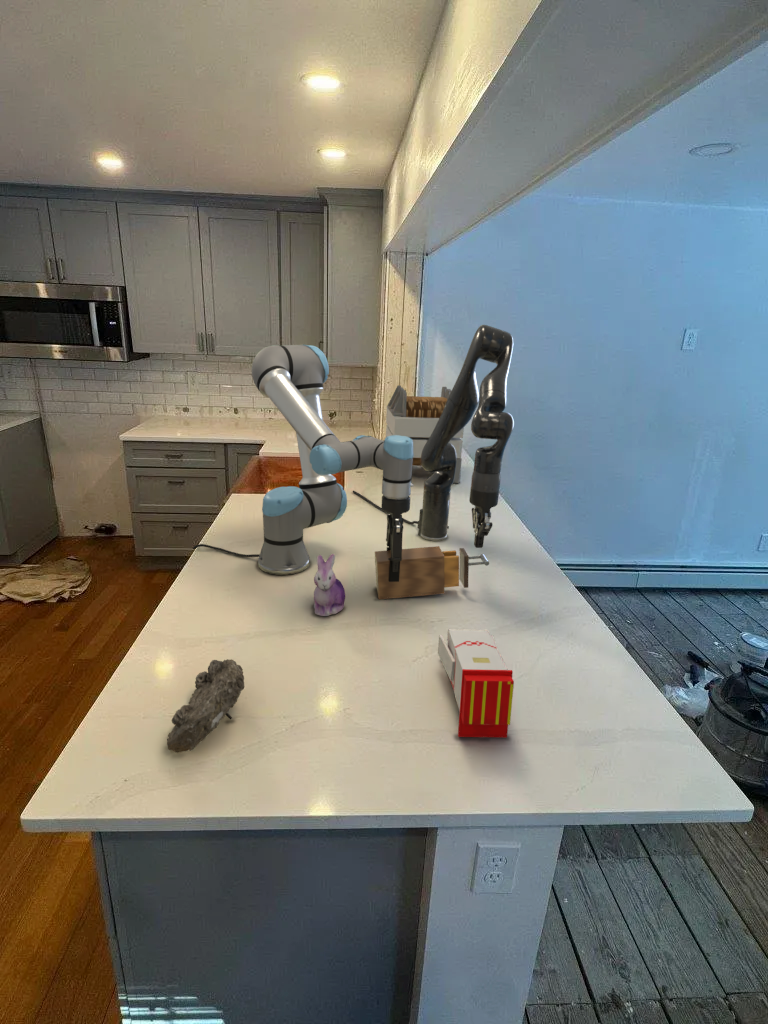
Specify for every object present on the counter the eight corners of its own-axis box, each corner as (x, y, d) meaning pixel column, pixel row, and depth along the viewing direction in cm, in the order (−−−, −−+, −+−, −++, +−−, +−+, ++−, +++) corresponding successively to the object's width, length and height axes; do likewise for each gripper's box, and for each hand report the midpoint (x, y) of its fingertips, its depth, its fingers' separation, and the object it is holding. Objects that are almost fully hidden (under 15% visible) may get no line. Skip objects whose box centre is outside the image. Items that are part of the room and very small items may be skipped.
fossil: (192, 660, 117) (244, 628, 112) (224, 691, 120) (276, 661, 115) (142, 746, 98) (202, 712, 93) (182, 779, 101) (242, 748, 96)
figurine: (319, 621, 142) (319, 567, 137) (305, 602, 151) (304, 551, 146) (353, 613, 146) (354, 560, 141) (337, 596, 155) (338, 545, 150)
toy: (488, 613, 130) (523, 677, 101) (484, 667, 133) (517, 744, 104) (435, 612, 130) (455, 676, 101) (432, 666, 133) (451, 743, 103)
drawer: (483, 576, 163) (484, 546, 159) (489, 585, 157) (490, 554, 154) (404, 583, 161) (403, 552, 157) (407, 593, 155) (406, 561, 152)
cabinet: (439, 582, 162) (439, 546, 158) (444, 593, 156) (444, 556, 152) (376, 588, 161) (374, 551, 157) (378, 599, 154) (376, 561, 150)
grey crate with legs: (382, 463, 289) (386, 382, 275) (445, 464, 293) (451, 384, 279) (390, 482, 257) (394, 392, 243) (460, 483, 261) (468, 394, 247)
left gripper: (416, 508, 140) (411, 591, 147) (405, 484, 158) (401, 559, 166) (386, 508, 139) (382, 591, 146) (378, 484, 157) (375, 560, 165)
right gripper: (506, 495, 144) (498, 557, 150) (492, 479, 157) (485, 537, 163) (477, 494, 143) (470, 556, 149) (465, 479, 156) (459, 537, 162)
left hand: (392, 574), depth 156 cm, fingers closed on cabinet, 7 cm apart
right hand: (478, 546), depth 156 cm, fingers closed
